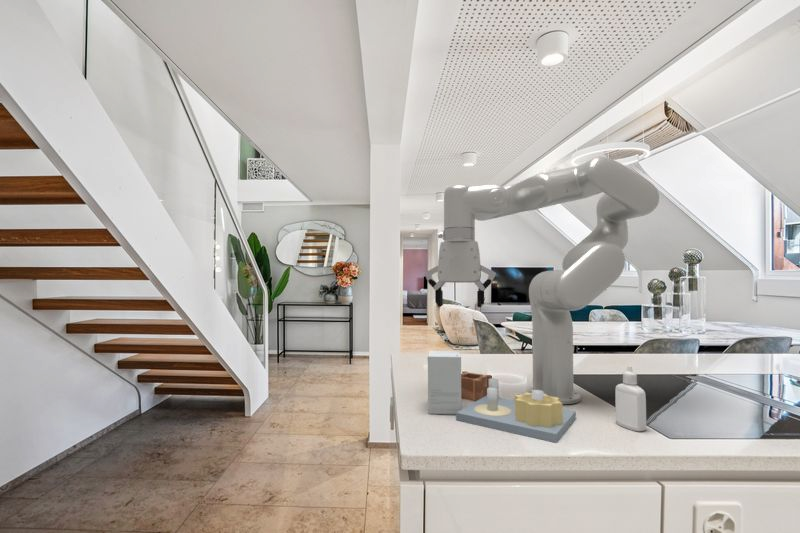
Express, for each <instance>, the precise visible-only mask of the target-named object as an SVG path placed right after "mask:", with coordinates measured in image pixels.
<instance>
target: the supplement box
mask: <svg viewBox="0 0 800 533" xmlns="http://www.w3.org/2000/svg"><path fill="white" fill-rule="evenodd" d="M461 374H462V356H461V354H460V351H459V350H456V351H455V350H428V355H427V402H428V409H427V410H428V414H429V415H433V414H435V415H456V412H458V411H460V410H462V398H461Z"/></svg>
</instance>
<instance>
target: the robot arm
mask: <svg viewBox="0 0 800 533" xmlns="http://www.w3.org/2000/svg"><path fill="white" fill-rule="evenodd" d="M601 193H604V194H603V195H601V197H599V199H598V201H597V204H596V217H597V218H596V227H595V228H594V229H593V230H592V231H591V232H590V233H589V234H588V235H587V236H586V237H585V238H583V239H582V240H581V241H580V242H578V243H577V244H576V245H575V246H574V247H573V248H572V249H570V250H569V251H568V252H566V254H565V256H564V258H563V260H562V262H561V263H562V264H561V266H562V269H560V270H559V269H558V270H556V269H555V270H545V271H541V272H540V273H538V274H536V275H535V276H534V277H533V278H532V279H531V282H530V283H529V287H528V298H529V303H530V304H529V305H530V308H531V319H532V320H531V321H532V387H529V388H527V389H526V391H525V393H532V390H541V391H543V392H544V394H546V395H548V396H551V397H557V398H559V402H561V403H562V405H572V404H573V405H574V404H577V403H579V402H580V401H581V395H580V393H579V392H578V391H574V390H575V389H574V327H573V324H574V323H573V319H572V315H571V312H574V311H579V310H582V309H583V308H585V307H587V306H588V305H590V304H591V303H592V302H594V300H595V299H597V298H598V297H599V296H600V295H601V294H602V293H604V292H605V291H606V290H607V289H608V288H609V287H610V286H612V285H613V284H614V283H615V282H616V281H617V280H618V279H619V277H620V276H621V275H622V273H623V271H624V269H625V265H626V257H625V254H624V252H623V250H624V248H625V247H626V246H627V244H628V241H629V230H628V229H629V228H628V222H627V220H630V219H636V218H640V217H643V216H647V215H650V214H651V213H652V212H654V211H655V209H657V207H658V205H659V203H660V193H659V191H658V188H657V187H656V186H655V185H654V183H652V182H651V181H650V180H648V179H647V178H645V177H643V176H642V175H640V174H639V173H637V172H635V171H634V170H632V169H630V168H629V167H628V166H625V165H624V164H623V163H620V162H619V161H617V160H615V159H612V158H610V157H606V156H596V157H594V158H592V159H590V160H588V161H586V162H584V163H581V164H580V165H579V164H578V165H577V166H572V167H566V168H562V169H557V170H554V171H553V170H552V171H548V172H541V173H538V174H536V175H532V176H530V177H527V178H525V179H523V180H521V181H520V182H517V183H515V184H511V185H508V186H505V187H504V186H502V185H500V184H493V183H491V184H483V185H475V186H470V185H466V184H455V185H451V186H448V187H446V188H445V189H444V192H443V230H442V231H441V232H438V233H437V237H438V239H443V241H441V242H440V245H439V250H438V259H437V260H438V261H437V265H436V266H434V267H433V268H431V269H428V270H427V271H424V276H425V278H426V280H427V282H428V284H429V285H430V286H431V287H432V289H434V295H435V296H434V297H435V298H434V299H435V300H434V301H435V304H436V305H437V307H442V306H444V305H443V304H444V303H443V302H444V297H443V296H444V295H443V294H444V293H443V290H442V287H443V286H444V285H445V284H447V283H452V284H453V283H457V284H458V283H468V284H469V283H473V284H475V286H476V287H477V288H478V290H477V291H476V292H477V293H476V295H477V300H476V301H477V302H476V304H477V305H476V306H477V308H482V305H485V290H487V288H488V287H489V286H490V285H491V284H492V283H493V281H494V279H495V277H496V275H497V273H496V272H495V271H494V270H491V269H489V268H487V267H486V266H484V265H482V264H481V256H480V255H481V254H480V247H479V243H478V241H476V226H475V225H476V221H483V222H484V221H489V220H492V219H498V218H502V217H507V216H510V215H516V214H519V213H524V212H530V211H535V210H539V209H543V208H547V207H551V206H552V207H553V206H556V205H560V204H564V203H570V202H574V201H578V200H583V199H588V198H590V197H592V196H595V195H599V194H601ZM482 272H483V273H484V274H487V276H488V277H487V279H486V280H485V281H484V282H482V281H481V277H482ZM436 273H437V280H438V281H437V282H436V281H435V280H434V278H433V275H434V274H436ZM570 311H571V312H570Z"/></svg>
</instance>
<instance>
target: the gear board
mask: <svg viewBox="0 0 800 533" xmlns="http://www.w3.org/2000/svg"><path fill="white" fill-rule="evenodd" d="M576 418H577V411H576V410H573V409H566V408H563V404H562V403H561V402H559V398H557V397H551V396H548V395H546V394H544V392H543V391H541V390H532V393H526V392H525V393H524V394H514V399H510V398H503V397H499V379H498V378H493V377H492V378H490V379H489V388H487V395H486V396H485V397H483V398H481V399H479V400H478V401H476V402H475V401H474V402H472V403H471V404H469V405H466V406H465V407H463V408H461V410H460V411H458V412H456V414H455V420H456V421H458V422H463V423H467V424H472V425H477V426H481V427H486V428H489V429H495V430H499V431H503V432H507V433H512V434H517V435H520V436H525V437H530V438H532V439H533V438H534V439H539V440H543V441H547V442H552V443H557V442H558V441H559V440H560V439H561V438H562V436H563V435H564V434H565V433H566V431H567V430H568V428H570V426H571V425H572V424H573V423H574V421H575V420H576Z"/></svg>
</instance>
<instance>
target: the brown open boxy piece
mask: <svg viewBox="0 0 800 533" xmlns="http://www.w3.org/2000/svg"><path fill="white" fill-rule="evenodd" d="M490 378H493V375H491V374H481V373H474V372H468V371H461V400H468V401H474V402H476V401H478V400H479V399H481V398H483V397H485V396H486V395H487V388H489V379H490Z"/></svg>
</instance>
